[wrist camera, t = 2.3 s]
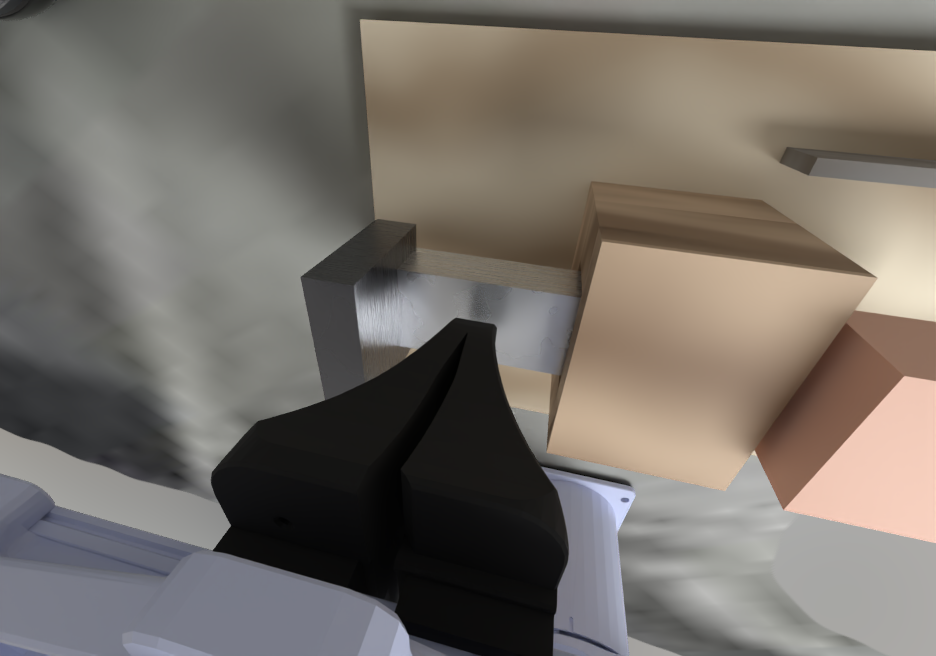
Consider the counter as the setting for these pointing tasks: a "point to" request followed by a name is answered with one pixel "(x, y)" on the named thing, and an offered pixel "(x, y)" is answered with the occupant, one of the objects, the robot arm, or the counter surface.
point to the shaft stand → (666, 212)
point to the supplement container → (22, 8)
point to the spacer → (863, 430)
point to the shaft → (430, 305)
